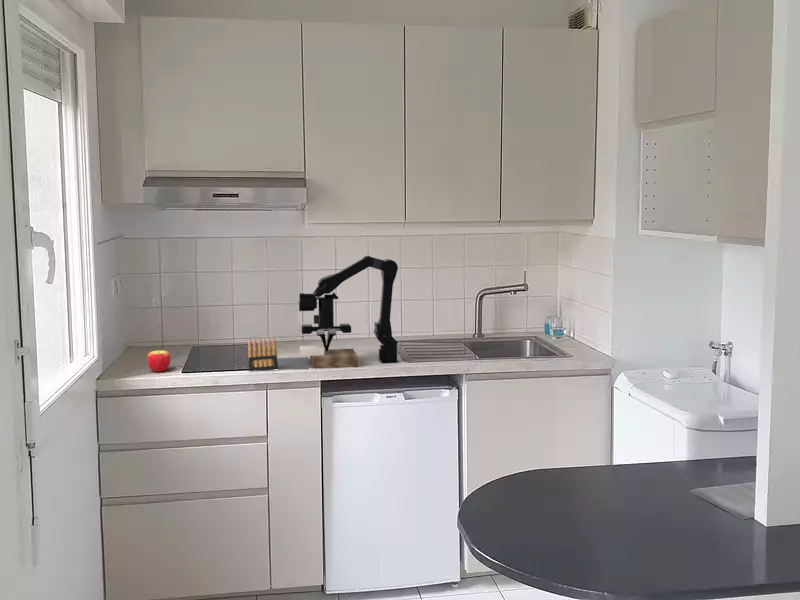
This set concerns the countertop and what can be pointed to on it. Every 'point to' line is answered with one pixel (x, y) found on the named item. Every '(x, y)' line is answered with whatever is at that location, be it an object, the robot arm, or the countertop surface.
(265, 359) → the ammunition clip
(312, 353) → the tile
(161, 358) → the apple
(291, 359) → the mat
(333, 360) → the brown flat block
